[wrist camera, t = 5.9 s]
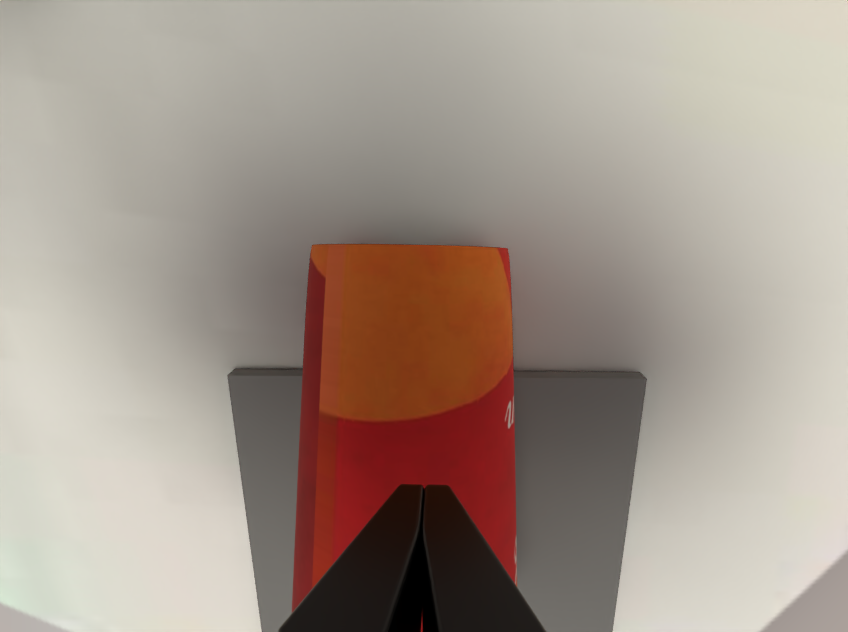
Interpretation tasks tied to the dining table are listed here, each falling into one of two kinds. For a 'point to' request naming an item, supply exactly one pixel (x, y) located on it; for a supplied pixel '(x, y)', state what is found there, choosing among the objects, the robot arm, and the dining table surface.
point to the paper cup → (404, 392)
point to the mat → (535, 487)
